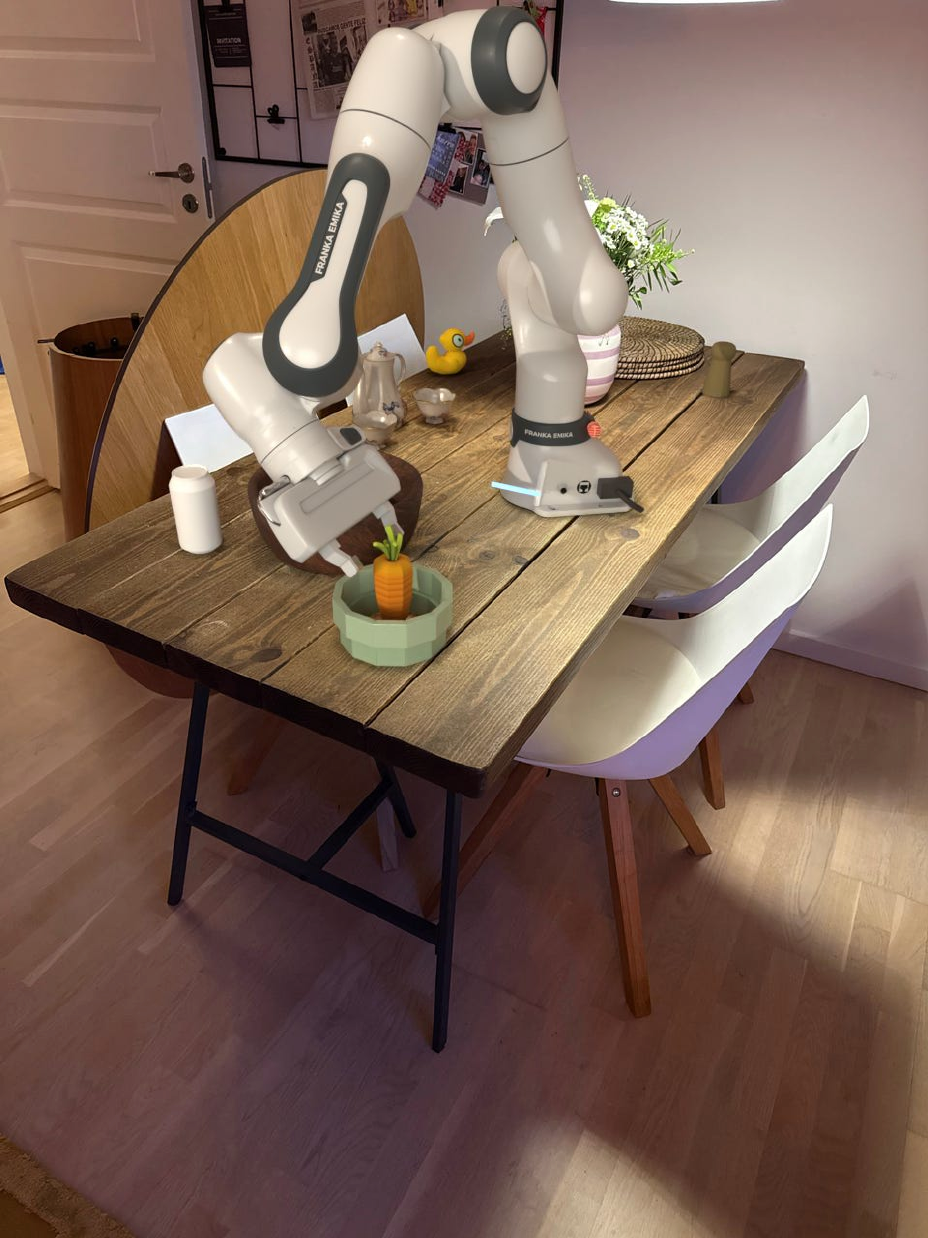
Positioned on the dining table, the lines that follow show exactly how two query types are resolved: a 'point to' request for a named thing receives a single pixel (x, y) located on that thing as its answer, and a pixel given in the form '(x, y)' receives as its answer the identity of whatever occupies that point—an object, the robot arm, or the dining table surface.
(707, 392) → the olive brown knobbed cylinder
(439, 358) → the duckling
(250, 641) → the dining table surface
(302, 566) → the wooden bowl
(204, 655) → the dining table surface
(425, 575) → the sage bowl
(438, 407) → the chinaware
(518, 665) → the dining table surface
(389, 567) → the carrot
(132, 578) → the dining table surface
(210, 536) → the beverage can
